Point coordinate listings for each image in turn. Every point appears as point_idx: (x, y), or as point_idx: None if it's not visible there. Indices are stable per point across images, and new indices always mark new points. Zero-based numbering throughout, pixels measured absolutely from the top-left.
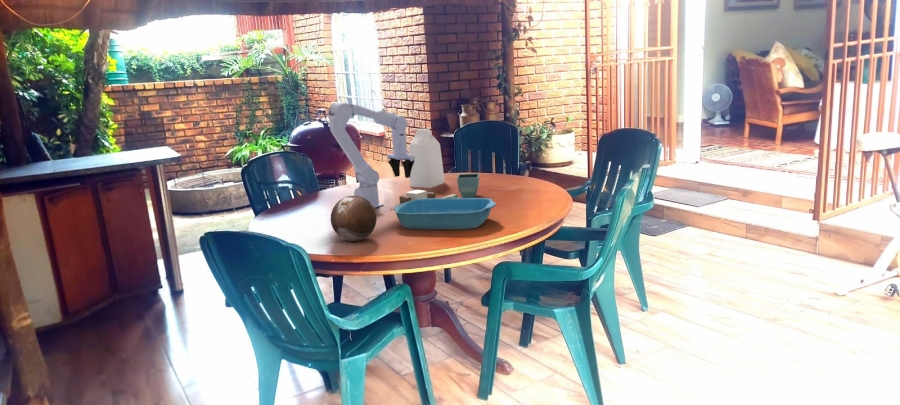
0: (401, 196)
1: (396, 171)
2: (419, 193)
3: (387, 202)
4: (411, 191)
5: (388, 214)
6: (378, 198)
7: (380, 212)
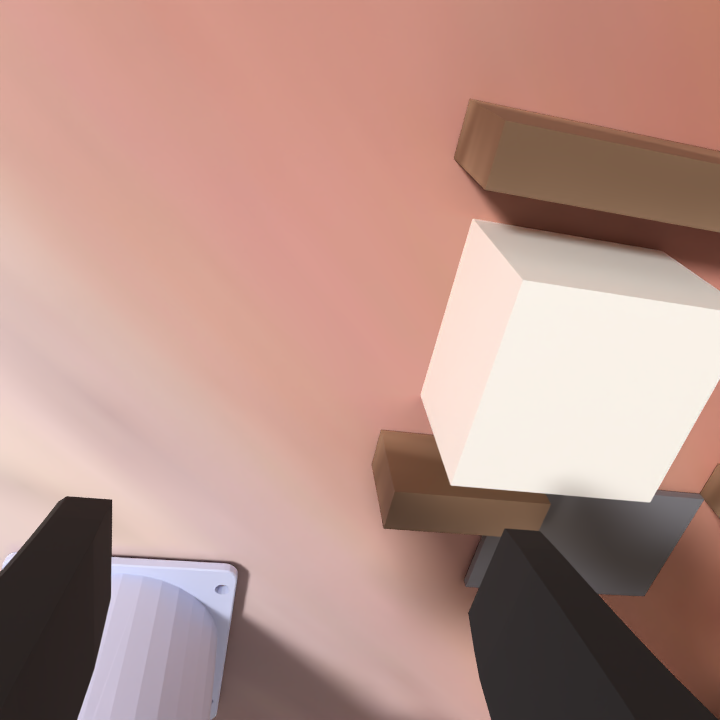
0: (402, 508)
1: (59, 714)
2: (673, 448)
3: (155, 451)
4: (504, 414)
5: None
6: (191, 665)
7: (385, 703)
